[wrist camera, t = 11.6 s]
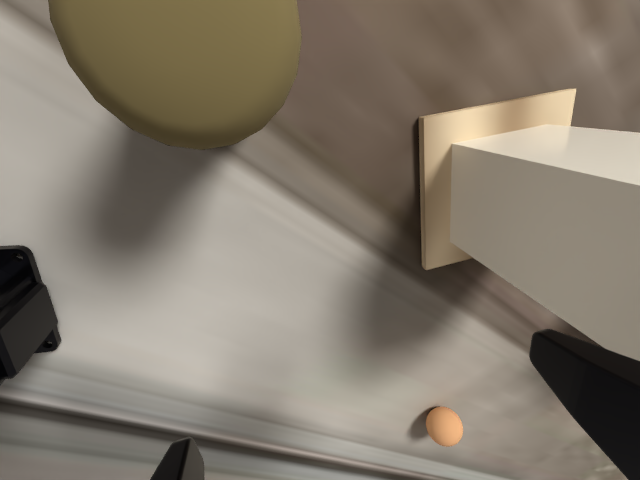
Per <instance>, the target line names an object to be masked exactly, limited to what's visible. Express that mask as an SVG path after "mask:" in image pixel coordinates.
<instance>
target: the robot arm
mask: <svg viewBox="0 0 640 480" xmlns="http://www.w3.org/2000/svg"><path fill="white" fill-rule="evenodd" d="M16 253H19V254H20V255H22V257H23V259H21V258H18V257H17V256H16ZM57 323H58V321H57V318H56V315H55V312H54V309H53V305H52V302H51V299H50V296H49V293H48V290H47V287H46V285H45V284H44V283H42V280H41V277H40V274H39V271H38V268H37V265H36V262H35V259H34V256H33V253H32V251H31V250H30V249H29V248H27V247H25V246H20V245H16V246H0V385H1V384H2V383H3V381H4V380H5V379H11V378H14V377H15V376H16V375H17V374H18V373H19V371H20V370H21V369H22V368H23V366H24V365H25V364H26V362H27V361H28V360H29V359H30V357H31V356H32V355H33V354H34V353H41V352H50V351H54V350H55V349H56V348H57V347H58V346H59V344H60V342H61V338H60V335H59V332H58V329H57V326H56V324H57ZM47 341H50V342H52V344H51V343H48V342H47ZM529 357H530V360H531V362H532V364H533V366H534V367H535V368H536V370H537V371H538V372H539V373H540V375H541V376H542V377H543V379H544V380H545V381H546V383H547V384H548V385H549V387H550V388H551V389H552V391H553V392H554V393H555V395H556V396H557V397H558V399H559V400H560V401H561V403H562V404H563V405H564V407H565V408H566V409H567V410H568V412H569V413H570V414H571V415H572V417H573V418H574V419H575V420H576V421H577V423H578V424H579V425H580V426H581V427H582V428H583V429H584V430H585V432H586V433H587V434H588V435H589V436H590V437H591V438H592V439H593V441H594V442H595V443H596V444H597V445H598V446H599V447H600V448H601V449H602V451H603V452H604V453H605V454H606V455H607V456H608V457H609V458H610V460H611V461H612V462H613V463H614V464H615V465H616V466H617V467H618V468H619V470H620V471H621V472H622V473H623V474H624V475H625V476H626V477H627V479H628V480H640V361H638V360H635V359H633V358H630V357H627V356H624V355H621V354H619V353H616V352H613V351H610V350H607V349H605V348H602V347H599V346H596V345H594V344H591V343H588V342H585V341H582V340H580V339H577V338H574V337H571V336H569V335H566V334H563V333H560V332H557V331H555V330H551V329H544V330H541V331H538V332H535V333H534V334H533V335H532V340H531V346H530V353H529ZM150 480H204V462H203V458H202V456H201V454H200V452H199V449H198V447H197V445H196V443H195V441H194V439H193V438H192V437H187V438H184V439H180V440H177V441H175V442H173V443H172V444H171V446H170V447H169V449H168V451H167V452H166V454H165V456H164V457H163V459H162V461H161V462H160V464H159V466H158V467H157V469H156V471H155V472H154V474H153V476H152V477H151V479H150Z"/></svg>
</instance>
